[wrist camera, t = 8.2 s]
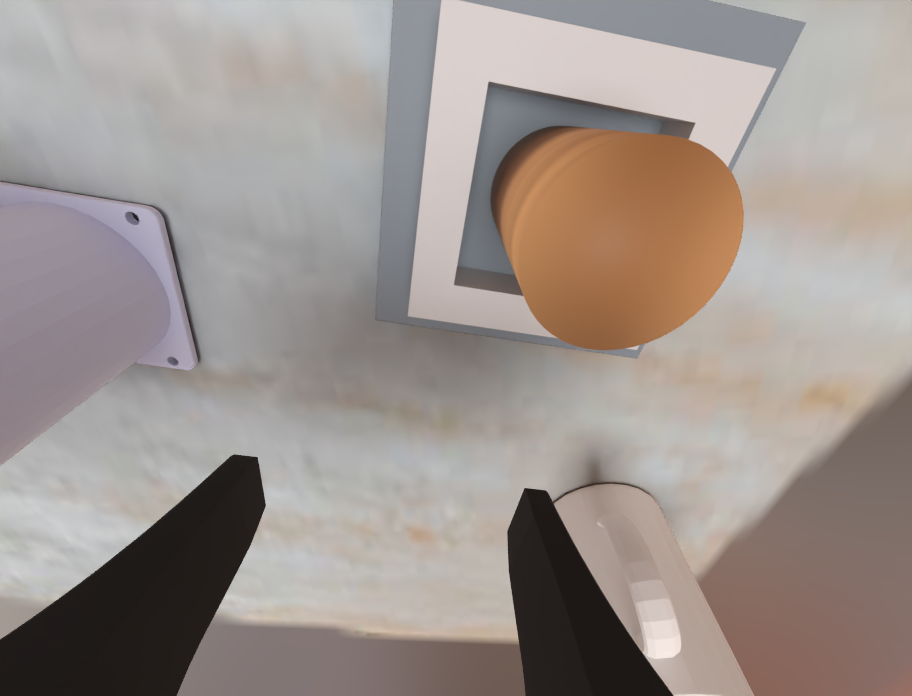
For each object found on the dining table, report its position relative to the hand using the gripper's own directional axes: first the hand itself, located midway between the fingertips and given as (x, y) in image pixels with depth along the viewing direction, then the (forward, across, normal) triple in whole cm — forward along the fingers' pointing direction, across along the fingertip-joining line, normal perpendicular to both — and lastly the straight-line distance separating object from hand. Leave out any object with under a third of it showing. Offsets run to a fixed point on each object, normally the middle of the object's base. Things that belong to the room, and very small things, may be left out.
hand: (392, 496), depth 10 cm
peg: (+8, -4, -7) cm, 11 cm away
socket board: (+9, -4, -7) cm, 12 cm away
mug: (+10, -13, +11) cm, 20 cm away
